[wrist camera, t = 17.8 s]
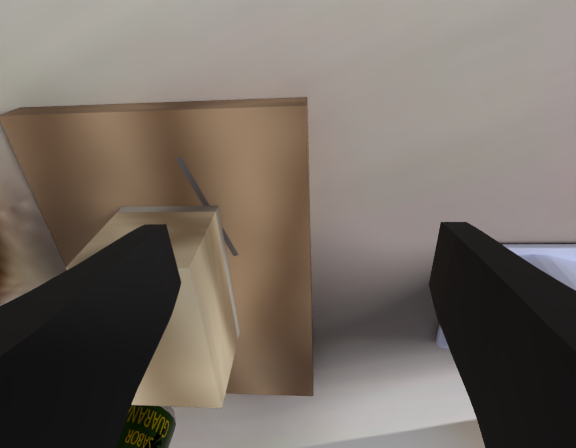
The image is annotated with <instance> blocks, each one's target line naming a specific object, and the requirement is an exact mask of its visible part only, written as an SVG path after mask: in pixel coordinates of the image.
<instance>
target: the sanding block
mask: <svg viewBox="0 0 576 448" xmlns="http://www.w3.org/2000/svg"><path fill="white" fill-rule="evenodd" d="M145 224H166V225H167V229H168V233H169V237H170V240H171V244H172V248H173V252H174V256H175V260H176V264H177V268H178V272H179V275H180V279H181V286H180V290H179V293H178V297H177V301H176V304H175V307H174V310H173V313H172V316H171V318H170V320H169V323H168V325H167V327H166V329H165V332H164V334H163V336H162V338H161V340H160V342H159V345H158V347H157V349H156V351H155V353H154V355H153V357H152V360H151V362H150V364H149V366H148V368H147V370H146V372H145V375H144V377H143V379H142V381H141V383H140V385H139V387H138V390H137V392H136V394H135V397H134V399H133V402H132V404H131V405H148V406H177V407H206V408H222V407H223V402H224V398H225V394H226V389H227V385H228V381H229V376H230V372H231V368H232V364H233V359H234V355H235V351H236V346H237V342H238V338H239V333H240V331H239V325H238V319H237V313H236V308H235V302H234V296H233V290H232V284H231V278H230V272H229V266H228V260H227V254H226V248H225V242H224V236H223V230H222V224H221V218H220V212H219V206H143V207H121V209H120V210H119V211H118V212H117V213H116V214H115V215H114V216H113V217H112V218H111V219H110V220H109V221H108V223H107V224H106V225H105V226H104V227H103V228H102V229H101V230H100V231H99V232H98V233H97V234H96V235H95V237H94V238H93V239H92V240H91V241H90V242H89V243H88V244H87V245H86V246H85V247H84V248H83V249H82V251H81V252H80V253H79V254H78V255H77V256H76V257H75V258H74V259H73V260H72V261H71V262H70V263H69V265H68V266H67V267H66V270H68V269H70V268H72V267H74V266H75V265H77V264H79V263H80V262H82V261H84V260H85V259H87V258H88V257H90V256H92V255H93V254H95V253H97V252H98V251H100V250H101V249H103V248H105V247H106V246H108V245H110V244H111V243H113V242H114V241H116V240H118V239H119V238H121V237H123V236H124V235H126V234H128V233H129V232H131V231H133V230H135V229H136V228H138V227H140V226H143V225H145Z"/></svg>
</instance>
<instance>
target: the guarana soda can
mask: <svg viewBox="0 0 576 448" xmlns="http://www.w3.org/2000/svg"><path fill="white" fill-rule="evenodd" d="M175 425H176V421H175V414H174V410H173V409H172V407H171V406H148V405H131V406H130V409H129V412H128V415H127V418H126V421H125V423H124V426H123V429H122V432H121V435H120V438H119V441H118V444H117V446H116V448H168V447H169V444H170V441H171V438H172V435H173V432H174V429H175Z"/></svg>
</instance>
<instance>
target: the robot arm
mask: <svg viewBox="0 0 576 448" xmlns="http://www.w3.org/2000/svg"><path fill="white" fill-rule="evenodd" d="M180 286H181V279H180V275H179V272H178V268H177V264H176V260H175V256H174V252H173V248H172V244H171V240H170V237H169V233H168V229H167V225H166V224H145V225H143V226H140V227H138V228H136V229H135V230H133V231H131V232H129V233H128V234H126V235H124V236H123V237H121V238H119V239H118V240H116V241H114V242H113V243H111V244H110V245H108V246H106V247H105V248H103V249H101V250H100V251H98V252H97V253H95V254H93V255H92V256H90V257H88V258H87V259H85V260H84V261H82V262H80V263H79V264H77V265H75V266H74V267H72V268H70V269H68V270H67V271H65V272H63V273H61V274H60V275H58V276H56V277H54V278H53V279H51V280H49V281H47V282H46V283H44V284H42V285H41V286H39V287H37V288H35V289H33V290H31V291H30V292H28V293H26V294H24V295H22V296H20V297H18V298H16V299H14V300H12V301H10V302H8V303H6V304H4V305H2V306H0V448H116V446H117V444H118V441H119V438H120V435H121V432H122V429H123V426H124V423H125V421H126V418H127V415H128V412H129V409H130V406H131V404H132V402H133V399H134V397H135V394H136V392H137V390H138V387H139V385H140V383H141V381H142V379H143V377H144V375H145V372H146V370H147V368H148V366H149V364H150V362H151V360H152V357H153V355H154V353H155V351H156V349H157V347H158V345H159V342H160V340H161V338H162V336H163V334H164V332H165V329H166V327H167V325H168V323H169V320H170V318H171V316H172V313H173V310H174V307H175V304H176V301H177V297H178V293H179V290H180ZM429 287H430V291H431V295H432V299H433V304H434V307H435V311H436V315H437V319H438V321H439V328H438V333H437V337H436V343H437V346H438V347H439V348H441V349H450V351H451V354H452V356H453V359H454V361H455V364H456V366H457V369H458V371H459V374H460V376H461V378H462V381H463V383H464V386H465V388H466V391H467V393H468V396H469V398H470V401H471V403H472V406H473V409H474V412H475V415H476V417H477V420H478V424H479V427H480V431H481V434H482V437H483V441H484V444H485V448H576V244H500V243H499V242H497V241H496V240H494V239H493V238H491V237H490V236H488V235H487V234H485V233H484V232H482V231H480V230H479V229H477V228H476V227H474V226H472V225H470V224H469V223H467V222H441V224H440V229H439V235H438V240H437V245H436V250H435V256H434V261H433V266H432V271H431V276H430V282H429Z"/></svg>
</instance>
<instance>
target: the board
mask: <svg viewBox="0 0 576 448" xmlns="http://www.w3.org/2000/svg"><path fill="white" fill-rule="evenodd" d="M0 122H1V124H2V127H3V129H4V131H5V133H6V135H7V138H8V140H9V142H10V144H11V147H12V149H13V151H14V153H15V155H16V158H17V160H18V162H19V164H20V166H21V169H22V171H23V173H24V175H25V177H26V180H27V182H28V184H29V186H30V188H31V191H32V193H33V195H34V197H35V200H36V202H37V204H38V206H39V208H40V211H41V213H42V215H43V217H44V219H45V222H46V224H47V226H48V228H49V230H50V233H51V235H52V237H53V239H54V241H55V244H56V246H57V248H58V250H59V253H60V255H61V257H62V259H63V261H64V264H65V266H66V267H67V266H68V265H69V263H70V262H71V261H72V260H73V259H74V258H75V257H76V256H77V255H78V254H79V253H80V252H81V251H82V249H83V248H84V247H85V246H86V245H87V244H88V243H89V242H90V241H91V240H92V239H93V238H94V237H95V235H96V234H97V233H98V232H99V231H100V230H101V229H102V228H103V227H104V226H105V225H106V224H107V223H108V221H109V220H110V219H111V218H112V217H113V216H114V215H115V214H116V213H117V212H118V211H119V210H120V209H121V207H143V206H219V212H220V218H221V224H222V230H223V236H224V242H225V248H226V254H227V260H228V266H229V272H230V278H231V284H232V290H233V296H234V302H235V308H236V313H237V319H238V325H239V331H240V333H239V338H238V342H237V346H236V351H235V355H234V359H233V364H232V368H231V372H230V376H229V381H228V385H227V389H226V393H230V394H262V395H295V396H313V334H312V289H311V244H310V199H309V154H308V109H307V97H304V98H276V99H248V100H220V101H192V102H164V103H136V104H108V105H80V106H52V107H24V108H18V109H15V110H13V111H10V112H7V113H5V114H2V115H0Z"/></svg>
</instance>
